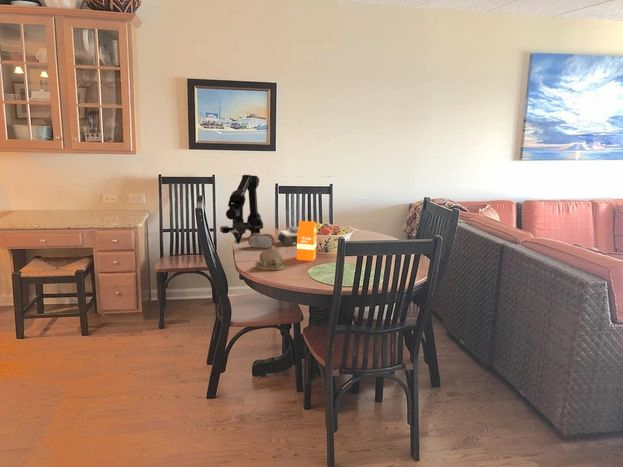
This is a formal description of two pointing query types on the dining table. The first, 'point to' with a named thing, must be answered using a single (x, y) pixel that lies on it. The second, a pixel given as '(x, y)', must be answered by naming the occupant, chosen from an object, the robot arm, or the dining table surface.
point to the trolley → (288, 236)
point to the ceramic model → (270, 260)
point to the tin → (261, 240)
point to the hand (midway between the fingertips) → (238, 243)
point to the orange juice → (306, 241)
